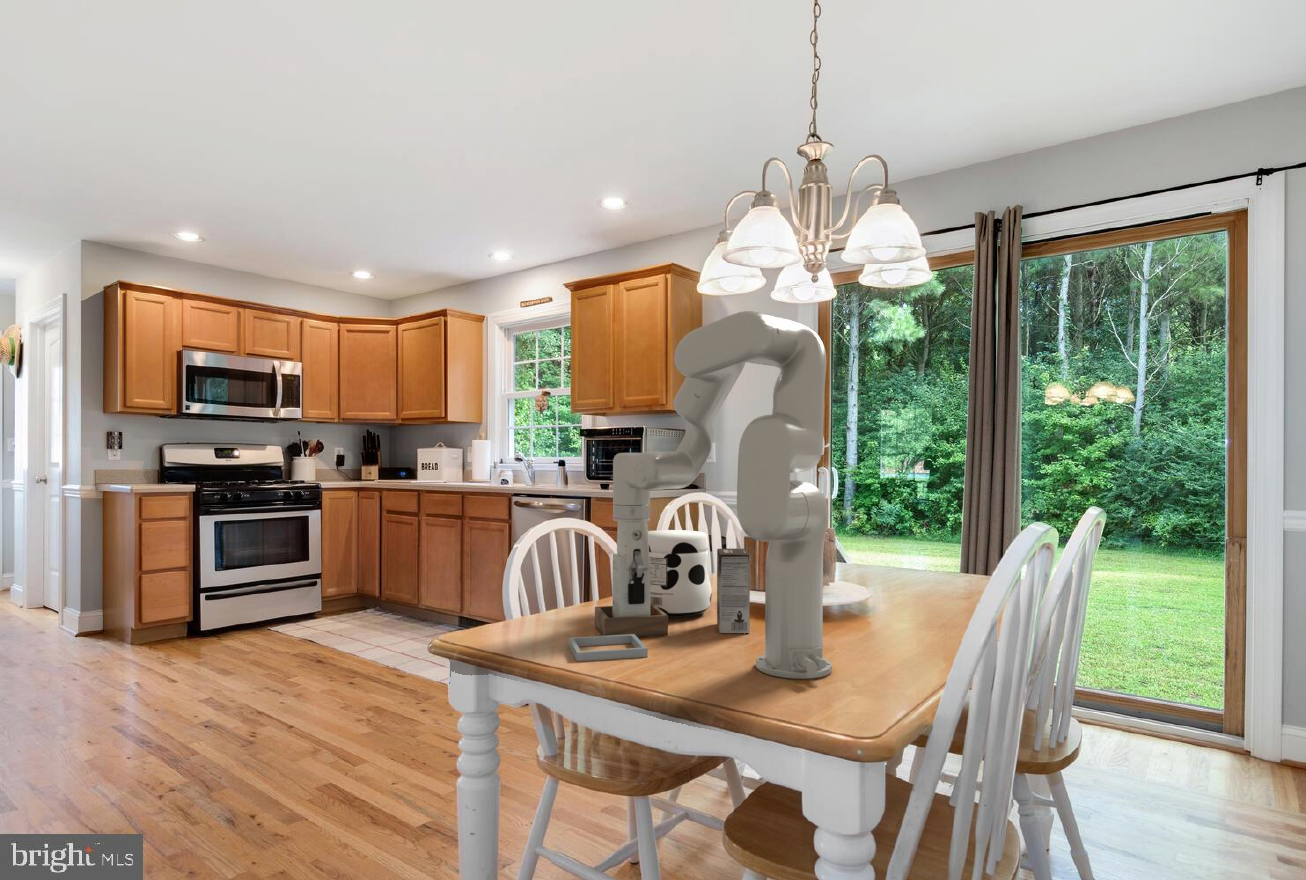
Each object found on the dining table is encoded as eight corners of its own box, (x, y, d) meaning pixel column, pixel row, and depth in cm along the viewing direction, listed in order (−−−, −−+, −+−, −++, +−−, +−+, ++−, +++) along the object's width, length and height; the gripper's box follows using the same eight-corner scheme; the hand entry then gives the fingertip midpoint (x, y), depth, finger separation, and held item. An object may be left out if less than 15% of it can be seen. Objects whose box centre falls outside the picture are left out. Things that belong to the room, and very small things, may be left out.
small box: (651, 623, 148) (651, 557, 148) (619, 625, 146) (619, 559, 146) (641, 614, 156) (641, 552, 156) (611, 616, 154) (611, 553, 154)
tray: (647, 656, 132) (647, 648, 132) (577, 661, 129) (577, 652, 129) (634, 641, 142) (634, 634, 142) (568, 645, 139) (568, 637, 139)
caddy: (667, 636, 147) (668, 615, 147) (605, 639, 144) (605, 618, 144) (653, 622, 158) (653, 603, 158) (594, 625, 155) (595, 606, 155)
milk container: (703, 604, 177) (704, 529, 178) (718, 621, 160) (719, 537, 160) (631, 606, 175) (631, 529, 176) (638, 623, 158) (639, 538, 158)
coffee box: (716, 623, 158) (716, 547, 158) (746, 623, 158) (746, 548, 158) (719, 634, 149) (719, 553, 149) (751, 634, 149) (751, 554, 149)
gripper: (660, 516, 144) (660, 607, 143) (639, 509, 161) (639, 591, 160) (622, 517, 142) (622, 609, 142) (605, 510, 159) (605, 592, 158)
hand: (631, 599), depth 151 cm, fingers closed on small box, 8 cm apart
